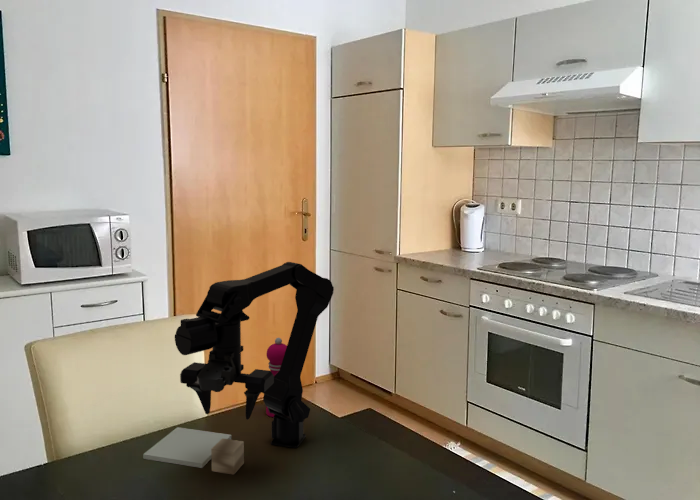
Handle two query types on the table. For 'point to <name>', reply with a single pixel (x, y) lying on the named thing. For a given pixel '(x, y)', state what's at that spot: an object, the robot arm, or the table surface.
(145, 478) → the table surface
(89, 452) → the table surface
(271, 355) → the pepper mill
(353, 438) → the table surface
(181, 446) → the sage plate
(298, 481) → the table surface
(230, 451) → the birch cube
